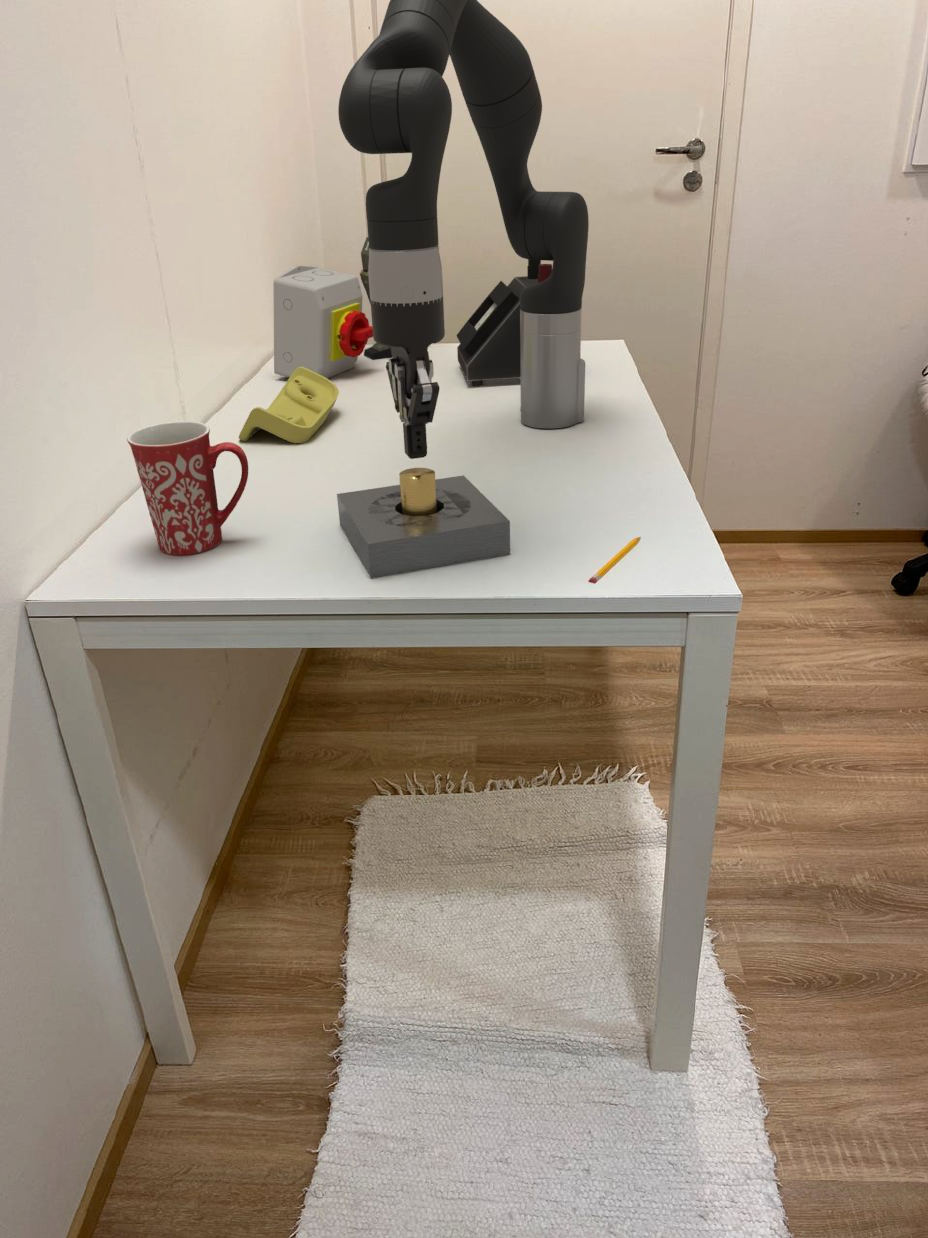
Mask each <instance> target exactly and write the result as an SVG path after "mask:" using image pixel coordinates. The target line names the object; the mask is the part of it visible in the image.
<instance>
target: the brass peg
mask: <svg viewBox="0 0 928 1238" xmlns="http://www.w3.org/2000/svg"><path fill="white" fill-rule="evenodd" d="M435 479H436V472H435V470H433V469H431V468H427V467H411V468H407V469H404V470H402V471H400V472H399V485H400V489H401V502H402V515H407V516H428V515H431V514H435V513H437V502H436V484H435Z"/></svg>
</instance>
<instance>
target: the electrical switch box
mask: <svg viewBox="0 0 928 1238" xmlns="http://www.w3.org/2000/svg"><path fill="white" fill-rule="evenodd" d="M371 338H373V328H372V325H370V322H369V319H368V317H367V315H366V313H364V312H363V292H362V287H361V285H360V281H359V277H358V276H357V275H353V274H350V273H345V272H341V271H337V270H336V271H335V270H331V269H328V268H322V267H318V266H312V265H311V266H310V265H309V266H308V265H298V264H297V265H295V266H293V267H291V268H289V269H288V270H286V271H285V272H283V273H281V274H279V275H278V276H276V277H275V278H274V279H273V371H274V374H275V375H279V376H283V377H287V378H290V376H291V375H292V373H293V372H294V370H296V369H297V368H298V367H305V368H307V369H309V370H311V371H313V372H315V373H317V374H320V375H322V376H323V377H325V378H327V379H328V380H329V379H331V378H333V377H335V376H337V375H340V374H342V373H344V372H346V371H348V370H350V369H353V368H354V367H355V366H356V363H357V360H358V358H359V356H362V353H364V350H365V348H366V345H367V343H368V340H369V339H371Z"/></svg>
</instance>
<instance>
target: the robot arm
mask: <svg viewBox="0 0 928 1238" xmlns="http://www.w3.org/2000/svg"><path fill="white" fill-rule="evenodd" d="M449 57H450V60H451V63H452V65H453V69H454V72H455V75H456V79H457V80H458V84H459V87H460V90H461V94H462V96H463V97H462V98H463V100H464V102H465V105H466V108H467V111H468V113H469V116H470V119H471V121H472V124H473V127H474V129H475V131H476V134H477V136H478V139H479V141H480V145H481V147H482V150H483V152H484V156H485V158H486V161H487V162H486V163H487V164H488V168H489V171H490V175H491V177H492V181H493V184H494V187H495V191H496V195H497V199H498V203H499V207H500V211H501V216H502V220H503V224H504V228H505V232H506V235H507V238H508V240H509V243H510V245H511V248H512V250H513V251H514V252H515V254H516V255H517V256H518V257H520V258H521V259H525V260H528V259H529V260H541V261H547V262H548V261H551V262H552V272H551V275H550V276H549V277H548V278H547V279H546V280H544V281H542V282H540V283H537V284H534V285H531V286H528V287H526V288H524V289H523V290H522V292H521V294H520V378H519V380H520V408H519V409H520V422H521V423H522V424H523V425H524V426H527V427H529V428H530V427H532V428H534V429H536V428H537V429H547V430H548V429H562V428H568V427H571V426H574V425H576V424H578V423H583V422H584V421H585V397H586V396H585V393H586V392H585V389H586V385H585V384H586V361H585V360H584V359H583V358H581V349H582V348H581V345H582V344H581V343H582V342H581V341H582V307H583V306H582V305H583V304H582V303H583V294H584V289H585V283H586V268H587V267H586V265H587V252H588V240H589V227H590V226H589V224H590V223H589V210H588V206H587V205H588V204H587V203H586V200H585V198H584V196H583V195H582V194H581V193H578V192H576V191H575V192H574V191H537V190H536V188H535V187H534V185H533V184H532V181H531V178H530V174H529V169H528V161H529V157H530V156H529V155H530V153H531V149H532V147H533V145H534V142H535V139H536V136H537V133H538V130H539V127H540V123H541V119H542V113H543V102H542V95H541V92H540V87H539V85H538V80H537V77H536V75H535V70H534V66H533V64H532V60H531V57H530V55H529V52H528V50H527V49H526V48H525V46H524V44H523V43H522V42H521V40H520V39H519V38H518V37H517V36H516V34H514V33H513V32H512V31H511V30H510V29H509V27H507V26H506V25H505V24H503V22H501V20H499V19H498V18H497V17H496V16H495V15H494V14H492V12H490V11H489V10H488V9H487V8H486V7H485V6H484V5H482V3H480V2H479V1H478V0H389V2H388V5H387V9H386V12H385V13H384V17H383V22H382V25H381V28H380V31H379V34H378V36H377V37H376V38H375V39H374V40H373V41H372V42H371V43H370V45H369V46H368V47H367V49H366V50H365V51H364V52H363V53H362V55H361V56H360V57H359V58H358V59H357V61H355V63H354V65H353V66H352V68H351V69H350V70H349V72H348V73H347V76H346V78H345V80H344V81H343V85H342V88H341V90H340V95H339V98H338V99H339V101H338V111H337V112H338V113H337V114H338V121H339V125H340V129H341V132H342V134H343V136H344V138H345V140H346V141H347V143H348V144H349V145H350V146H351V147H352V148H353V149H355V151H357V152H359V153H362V154H367V155H384V154H385V155H387V154H388V155H389V154H411V160H410V163H409V166H408V168H407V170H406V172H405V173H404V174H403V175H401V176H399V177H397V178H394V179H390V180H389V179H388V180H385V181H382V182H378V183H376V184H373V185H371V186H370V187H369V188H368V190H367V192H366V193H365V213H366V217H365V218H366V224H367V225H366V226H367V237H368V240H369V268H368V274H369V289H370V302H371V305H370V312H371V313H370V314H371V322H372V323H371V326H372V328H373V337H372V338H373V341H374V343H375V344H376V343H378V344H380V345H383V346H388V347H392V357H391V358H388V361H386V365H385V369H386V372H387V375H388V381H389V384H390V389H391V393H392V398H393V402H394V410H395V411H396V413H399V414H398V418H399V419H400V422H401V423H402V428H403V429H402V430H403V431H402V432H403V443H404V444H403V446H404V453H405V455H406V456H407V457H408V458H409V459H411V460H413V459H422V458H425V457H427V455H428V442H427V440H428V439H427V425H428V424H429V423H433V421H434V416H435V412H436V406H437V403H438V397H439V394H440V385H439V383H438V382H437V381H435V382H432V379H433V377H434V372H435V371H434V363H433V359H430V356H429V351H428V350H429V347H430V346H431V345H433V344H437V343H440V342H441V341H442V340H443V339H444V337H445V334H446V332H445V310H444V306H445V305H444V289H443V288H444V285H443V282H444V281H443V267H442V260H441V255H440V247H439V227H438V226H439V225H438V221H439V220H438V196H439V195H438V193H439V186H440V185H439V184H440V177H441V171H442V165H443V160H444V156H445V155H444V154H445V151H446V150H445V149H446V145H447V141H448V137H449V133H450V127H451V122H452V115H453V114H452V113H453V104H452V103H453V102H452V96H451V92H450V89H449V87H448V84H447V83H446V81H445V79H444V77H443V76H444V73H445V71H446V69H447V65H448V61H449ZM370 302H369V303H370Z"/></svg>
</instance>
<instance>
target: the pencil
mask: <svg viewBox="0 0 928 1238" xmlns="http://www.w3.org/2000/svg"><path fill="white" fill-rule="evenodd" d="M641 538H642V537H641V536H638V537H635V538H633V539H632V540H631V541H630V542H628V543H627V544H626V545H625V546H623V548H622V549H621V550H620V551H618V553H617V554H616V555H614V556H613V557H612V558H611V559H610V560H608V562H606V563H605V564H604V565H603V566H602V567H601V568H600V569H599V570H598V571H597V572H596V573H594V574H593V575H592V576H591V577H590V578H589V580H588V583H591V584H596V583H597V582H598V581H599V580H600V579H601V578H602V577H603V576H604V575H605V574H607V572H609V571H610V569H612V568H613V567H614V566H616V564H618V562H619V561H620V560H621V559H623V558H624V557H625V556H626V555H627V554H628V553H629V552H630V551H632V549H634V547H636V546H637V545H638V544H639V542H640V540H641Z"/></svg>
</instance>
